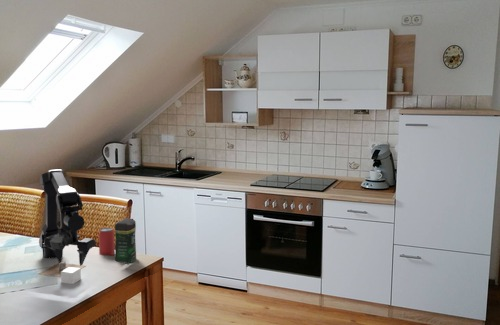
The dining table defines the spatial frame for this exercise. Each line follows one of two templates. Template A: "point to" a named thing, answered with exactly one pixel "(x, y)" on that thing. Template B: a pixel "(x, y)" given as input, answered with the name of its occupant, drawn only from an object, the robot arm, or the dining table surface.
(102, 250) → the beer can
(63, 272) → the white block
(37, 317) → the dining table surface
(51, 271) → the post base
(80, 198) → the robot arm
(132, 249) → the coffee jar
